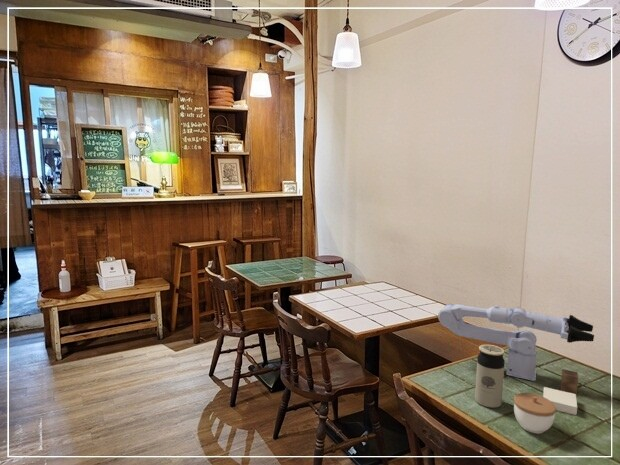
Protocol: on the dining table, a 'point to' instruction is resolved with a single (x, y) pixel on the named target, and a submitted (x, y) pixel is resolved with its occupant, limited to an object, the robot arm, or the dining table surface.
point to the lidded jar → (534, 412)
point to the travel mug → (489, 376)
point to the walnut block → (569, 381)
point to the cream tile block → (561, 400)
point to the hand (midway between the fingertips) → (593, 333)
